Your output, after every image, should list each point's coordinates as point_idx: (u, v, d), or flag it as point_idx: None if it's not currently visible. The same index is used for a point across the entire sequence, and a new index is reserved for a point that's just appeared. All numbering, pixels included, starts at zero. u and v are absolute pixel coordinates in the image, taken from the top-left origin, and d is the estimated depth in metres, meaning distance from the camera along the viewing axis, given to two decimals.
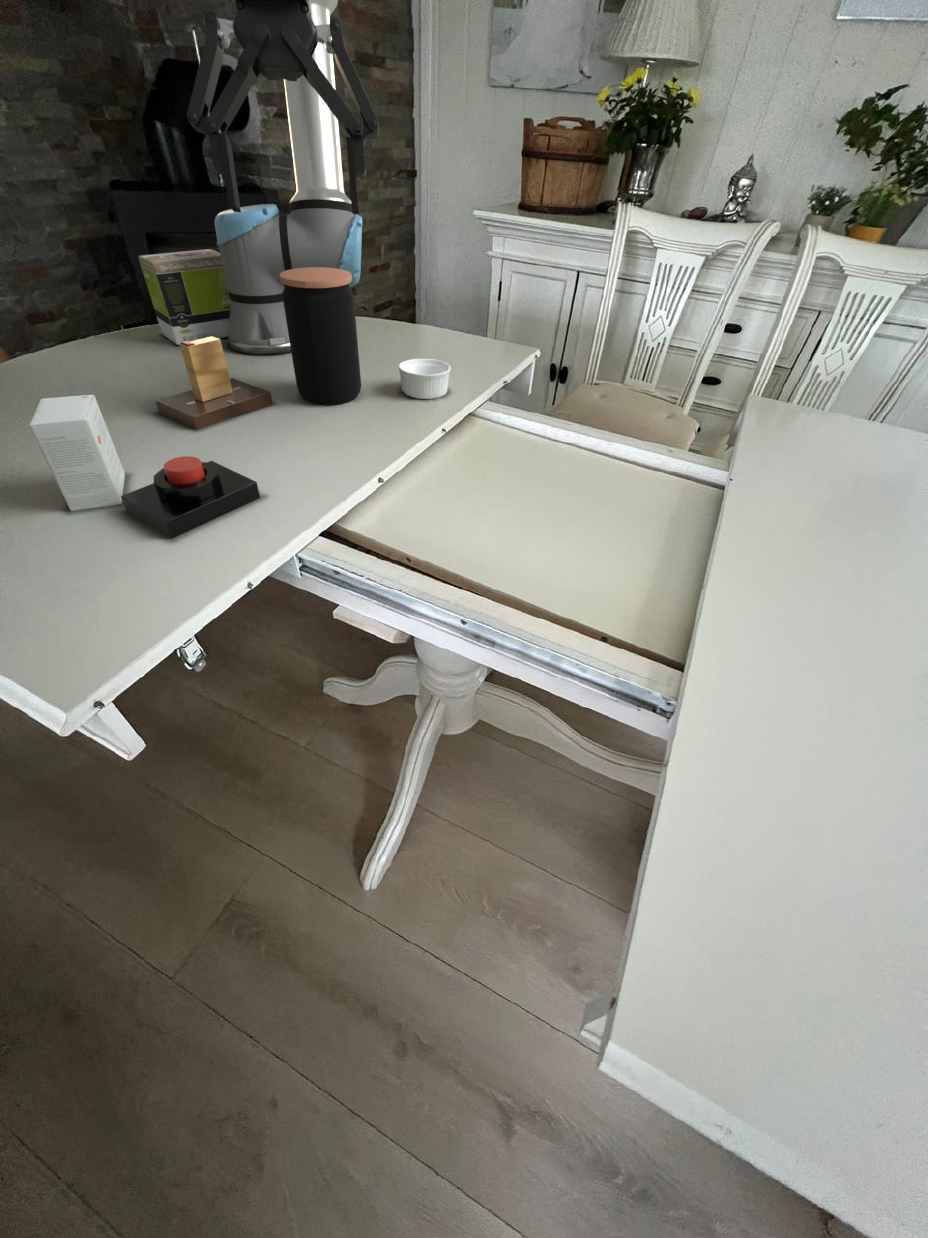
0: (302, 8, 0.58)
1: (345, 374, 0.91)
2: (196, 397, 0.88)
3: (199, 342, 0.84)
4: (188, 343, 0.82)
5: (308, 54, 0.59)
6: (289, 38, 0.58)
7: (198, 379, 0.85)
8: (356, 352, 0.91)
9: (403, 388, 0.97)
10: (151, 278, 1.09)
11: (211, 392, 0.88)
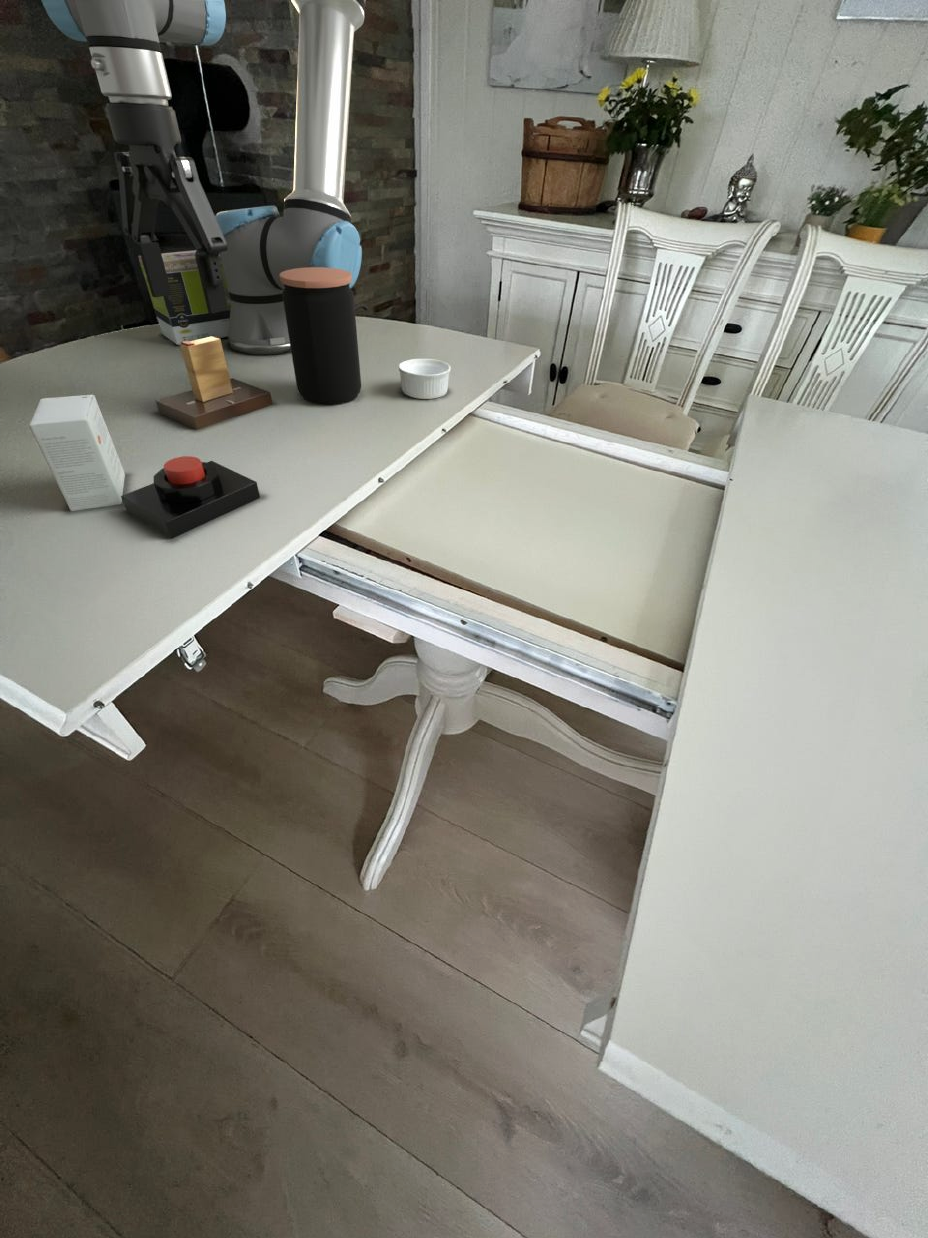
0: (157, 148, 0.68)
1: (345, 374, 0.91)
2: (196, 397, 0.88)
3: (199, 342, 0.84)
4: (188, 343, 0.82)
5: (162, 189, 0.70)
6: (149, 177, 0.70)
7: (198, 379, 0.85)
8: (356, 352, 0.91)
9: (403, 388, 0.97)
10: None
11: (211, 392, 0.88)
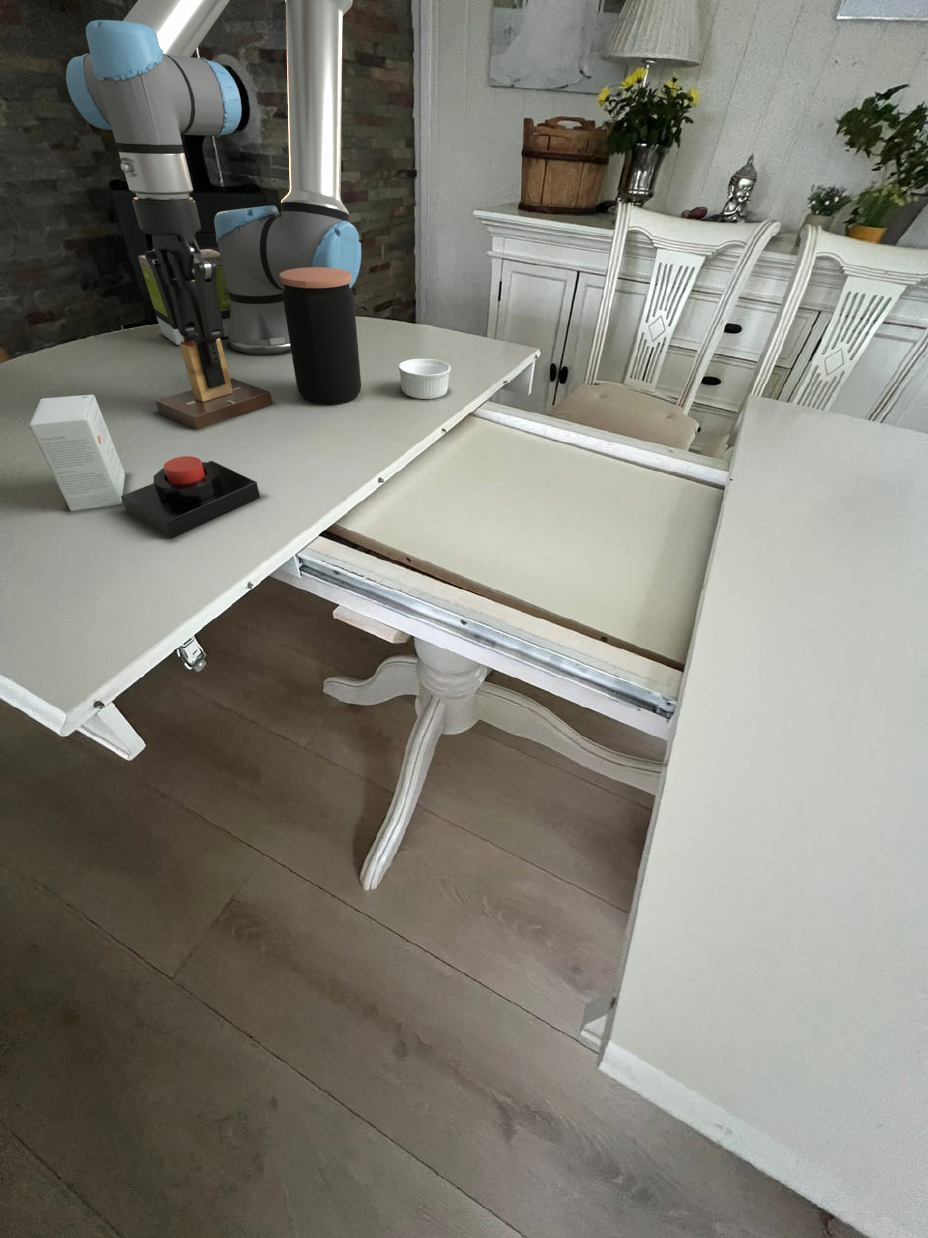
0: (179, 237, 0.74)
1: (345, 374, 0.91)
2: (196, 397, 0.88)
3: None
4: (188, 343, 0.82)
5: (180, 278, 0.77)
6: (170, 261, 0.76)
7: (198, 379, 0.85)
8: (356, 352, 0.91)
9: (403, 388, 0.97)
10: (151, 278, 1.09)
11: (211, 392, 0.88)
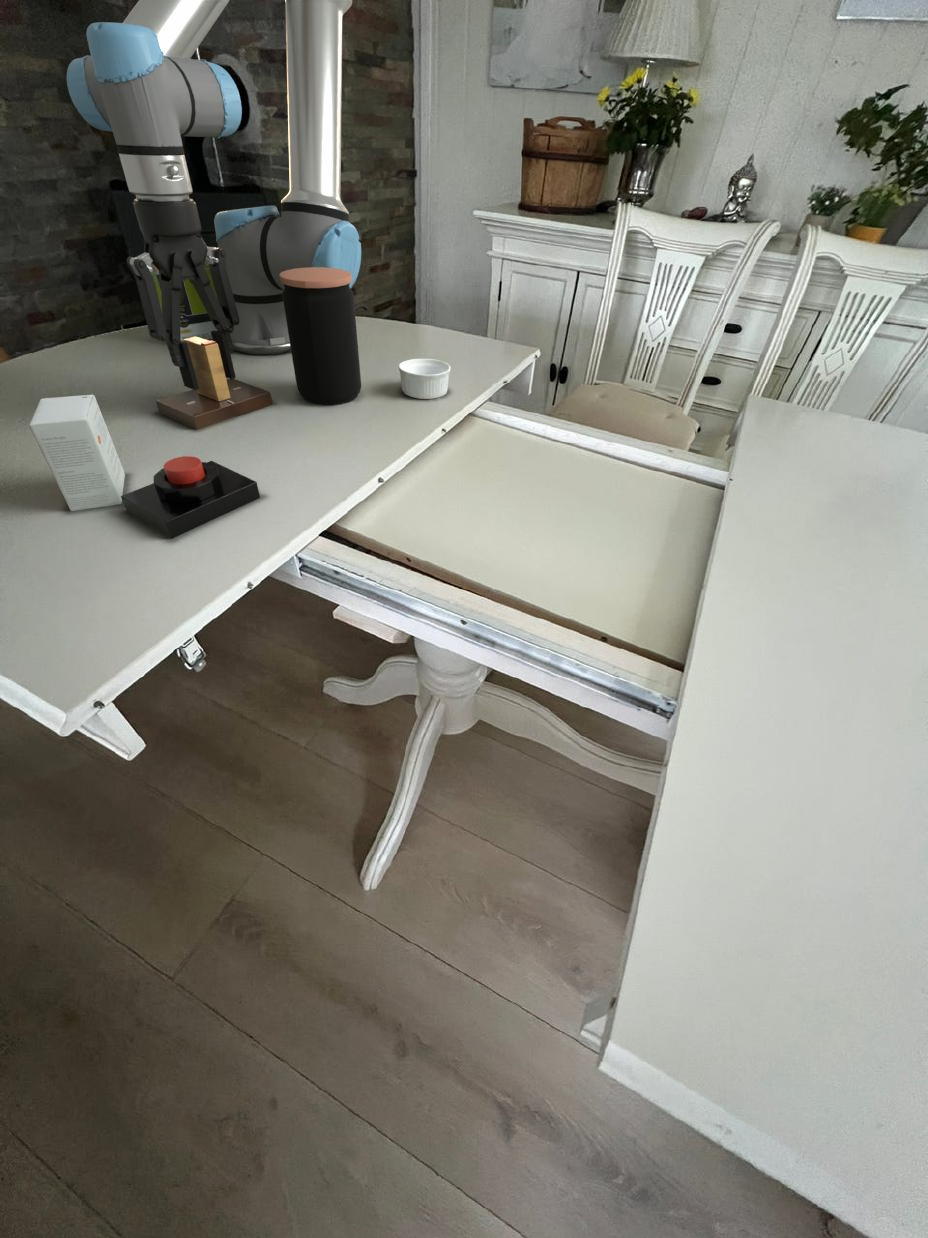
0: (197, 234, 0.77)
1: (345, 374, 0.91)
2: (222, 398, 0.88)
3: (204, 341, 0.84)
4: (212, 341, 0.83)
5: (205, 274, 0.79)
6: (196, 261, 0.77)
7: (224, 375, 0.87)
8: (356, 352, 0.91)
9: (403, 388, 0.97)
10: None
11: None
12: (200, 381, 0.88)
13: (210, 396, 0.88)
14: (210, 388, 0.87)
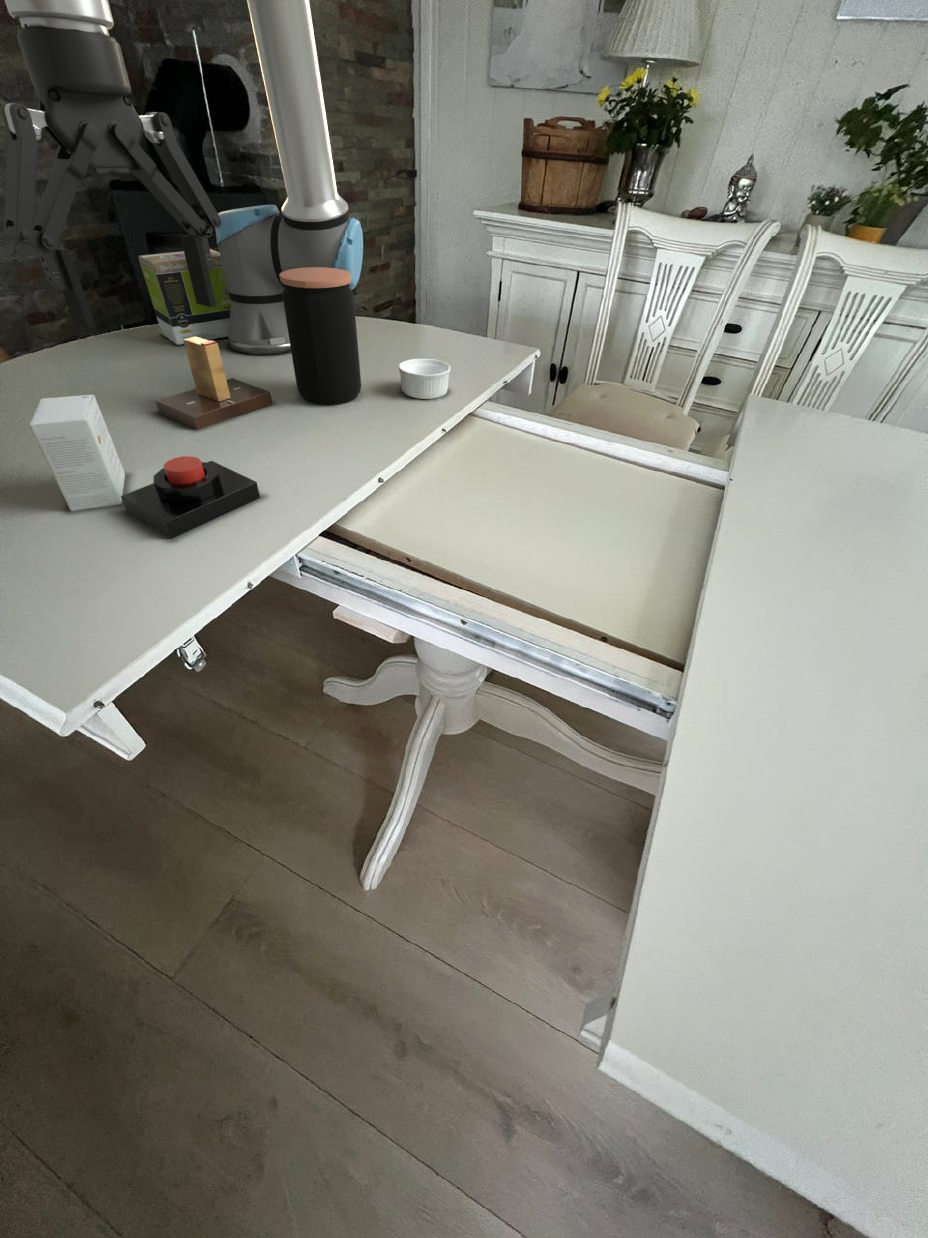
0: (125, 100, 0.51)
1: (345, 374, 0.91)
2: (222, 398, 0.88)
3: (204, 341, 0.84)
4: (212, 341, 0.83)
5: (147, 156, 0.53)
6: (126, 141, 0.51)
7: (224, 375, 0.87)
8: (356, 352, 0.91)
9: (403, 388, 0.97)
10: (151, 278, 1.09)
11: None
12: (200, 381, 0.88)
13: (210, 396, 0.88)
14: (210, 388, 0.87)
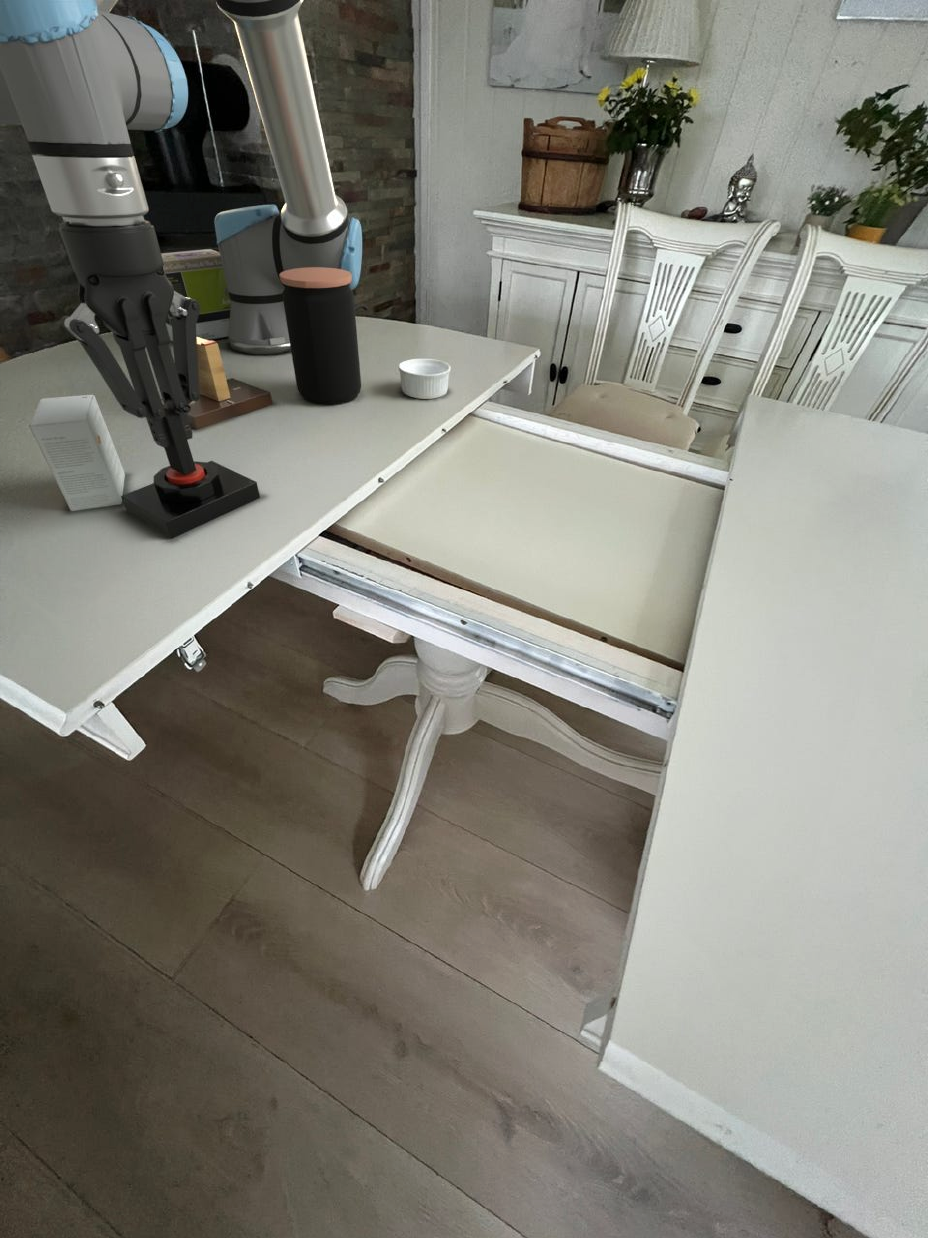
0: (158, 270, 0.54)
1: (345, 374, 0.91)
2: (222, 398, 0.88)
3: (204, 341, 0.84)
4: (212, 341, 0.83)
5: (165, 330, 0.56)
6: (154, 309, 0.54)
7: (224, 375, 0.87)
8: (356, 352, 0.91)
9: (403, 388, 0.97)
10: None
11: None
12: (200, 381, 0.88)
13: (210, 396, 0.88)
14: (210, 388, 0.87)
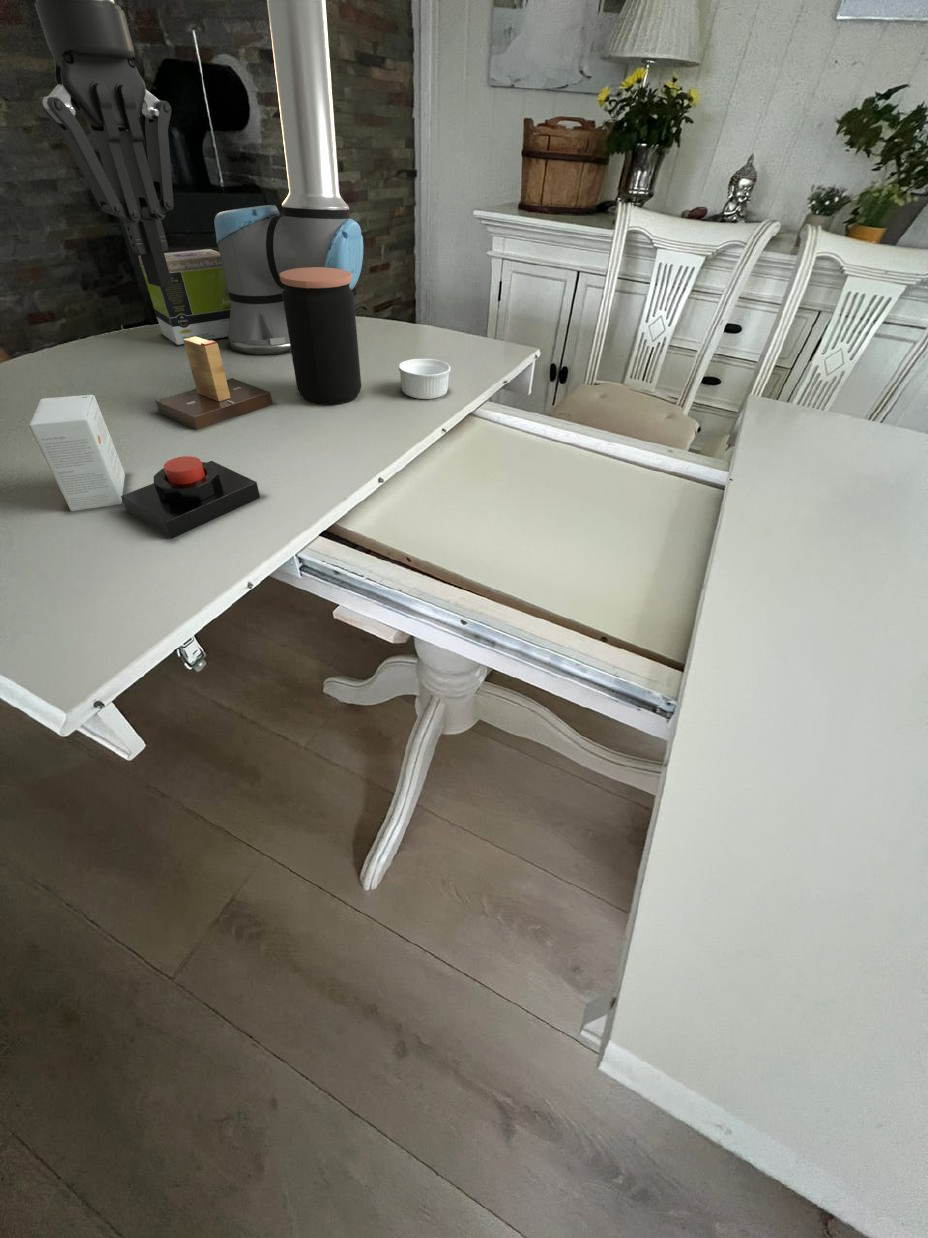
0: (129, 62, 0.57)
1: (345, 374, 0.91)
2: (222, 398, 0.88)
3: (204, 341, 0.84)
4: (212, 341, 0.83)
5: (138, 125, 0.59)
6: (127, 99, 0.58)
7: (224, 375, 0.87)
8: (356, 352, 0.91)
9: (403, 388, 0.97)
10: None
11: None
12: (200, 381, 0.88)
13: (210, 396, 0.88)
14: (210, 388, 0.87)
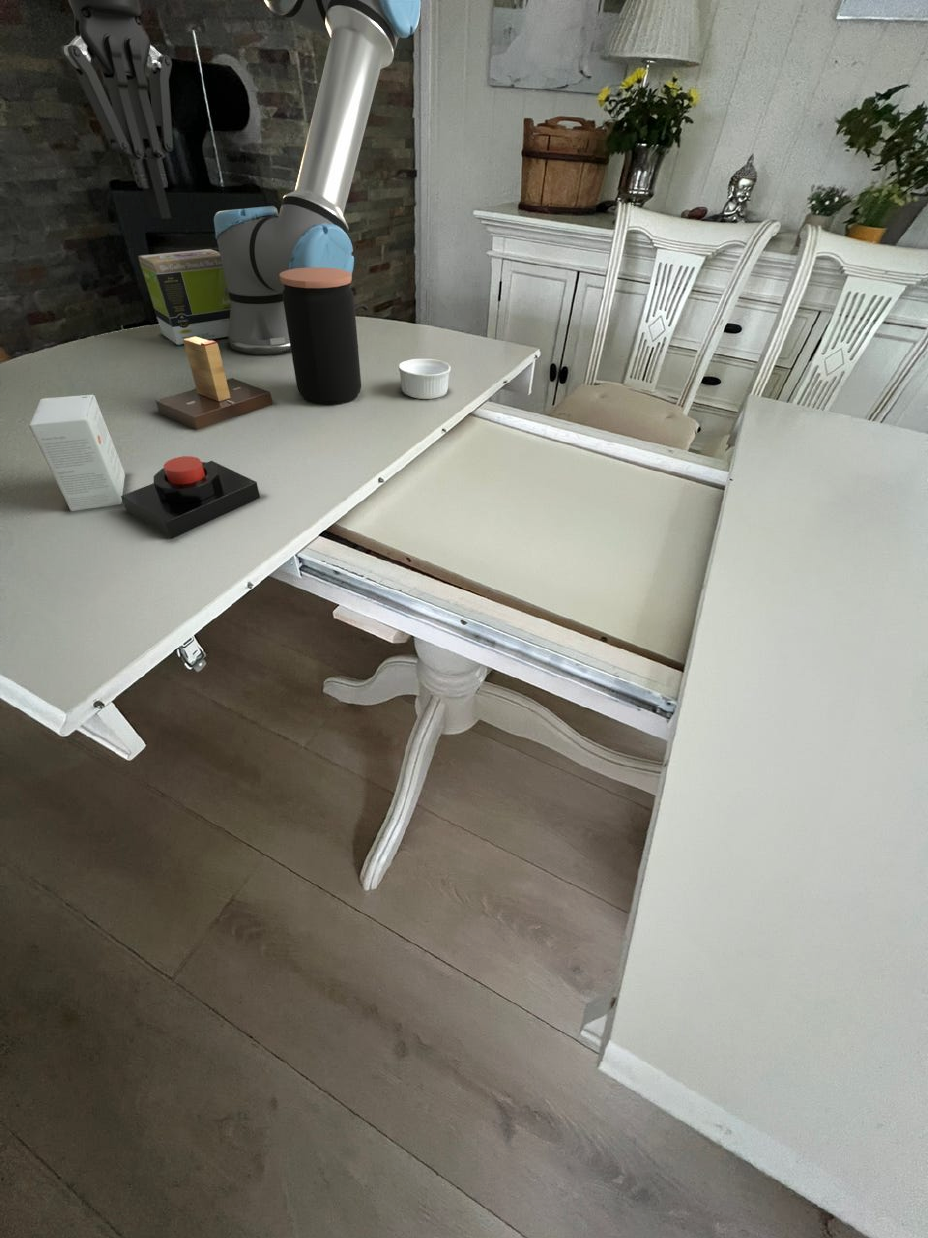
0: (137, 20, 0.68)
1: (345, 374, 0.91)
2: (222, 398, 0.88)
3: (204, 341, 0.84)
4: (212, 341, 0.83)
5: (143, 74, 0.70)
6: (134, 51, 0.69)
7: (224, 375, 0.87)
8: (356, 352, 0.91)
9: (403, 388, 0.97)
10: (151, 278, 1.09)
11: None
12: (200, 381, 0.88)
13: (210, 396, 0.88)
14: (210, 388, 0.87)
